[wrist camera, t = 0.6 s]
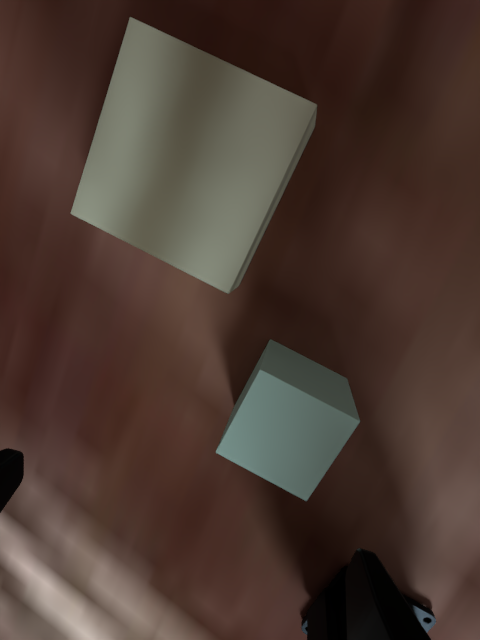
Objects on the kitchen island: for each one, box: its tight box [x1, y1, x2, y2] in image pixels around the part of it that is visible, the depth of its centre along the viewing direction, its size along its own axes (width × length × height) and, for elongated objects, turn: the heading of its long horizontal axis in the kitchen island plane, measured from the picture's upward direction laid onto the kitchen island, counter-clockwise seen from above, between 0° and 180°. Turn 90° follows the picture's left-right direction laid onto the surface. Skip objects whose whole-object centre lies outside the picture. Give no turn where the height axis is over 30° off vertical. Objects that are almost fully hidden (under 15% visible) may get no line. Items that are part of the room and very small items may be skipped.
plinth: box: [71, 17, 317, 294], centre depth 17 cm, size 9×9×3 cm
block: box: [216, 339, 360, 501], centre depth 19 cm, size 5×5×5 cm
